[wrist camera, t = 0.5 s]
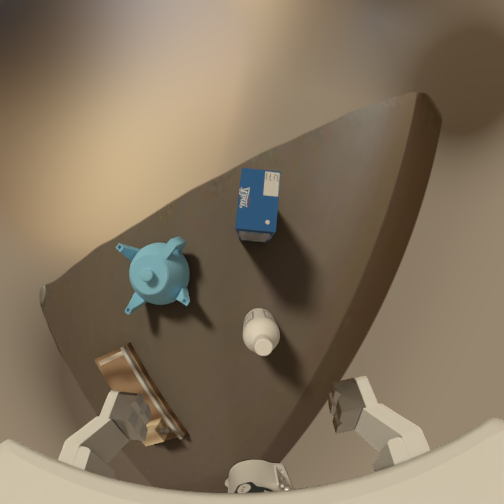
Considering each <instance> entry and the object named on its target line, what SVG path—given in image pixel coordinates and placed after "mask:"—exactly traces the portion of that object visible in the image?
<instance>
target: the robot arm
mask: <svg viewBox="0 0 504 504" xmlns="http://www.w3.org/2000/svg"><path fill="white" fill-rule="evenodd" d="M330 390H331V393H329V398H328V402H329V409H330V413H331V414H332V415H333V416H334V418H333V425H334V428H335V432H336V433H341V432H347V431H351V430H355V431H356V432H357V433H358V434H359V435H360V436H361V437H363V438H364V439H365V440H366V441H367V442H368V443H369V444H371V445H372V446H373V447H374V448H375V449H376V450H378V451H379V452H380V455H379V456H378V458H377V459H376V460H375V462H374V463H373V467H374V471H375V472H373V473H369V474H366V475H362V476H358V477H355V478H351V479H347V480H343V481H338V482H334V483H329V484H324V485H318V486H313V487H306V488H300V489H293V486H292V484H291V481H290V479H289V476H288V473H287V471H286V468H285V466H284V464H281V463H270V462H267V461H263V460H247V461H243V462H240V463H238V464H236V465H234V466H233V467H232V468H231V470H230V472H229V477H228V479H227V480H226V481H225V486H227V487H228V493H205V492H191V491H180V490H171V489H164V488H157V487H151V486H145V485H140V484H135V483H130V482H126V481H121V480H117V479H114V475H115V471H114V469H113V468H111V467H110V466H109V465H108V464H107V463H108V462H109V461H110V460H111V459H112V458H113V457H114V456H115V455H116V454H117V453H118V452H119V451H120V450H121V449H122V447H123V446H124V445H125V444H126V443H127V442H128V441H129V439H131V440H139V441H145V440H146V435H147V431H148V429H147V427H146V425H147V424H148V423H149V422H150V419H151V410H150V407H149V405H148V404H147V403H146V402H144V401H143V400H144V397H143V396H142V394H139V393H129V392H121V391H112V390H111V391H110V392H109V394H108V396H107V399H106V401H105V403H104V406H103V408H102V411H101V414H100V416H99V417H95V418H94V419H93V420H92V421H90V422H89V423H88V424H86V425H85V426H84V427H83V428H81V429H80V430H79V431H77V432H76V433H75V434H73V435H72V436H71V437H69V438H68V439H67V440H66V441H65V443H64V446H63V448H62V451H61V454H60V456H59V459H58V460H55V459H53V458H51V457H48V456H46V455H44V454H41V453H39V452H37V451H35V450H33V449H31V448H29V447H27V446H24V445H23V444H21V443H19V442H17V441H15V440H12V439H8V440H6V441H4V442H2V443H1V444H0V504H504V420H501V419H497V418H490V419H488V420H486V421H485V422H483V423H482V424H480V425H478V426H477V427H475V428H473V429H472V430H470V431H469V432H467V433H465V434H463V435H461V436H460V437H457V438H456V439H454V440H452V441H450V442H448V443H446V444H444V445H442V446H440V447H437V448H436V449H433V450H431V451H430V448H429V446H428V444H427V442H426V439H425V437H424V435H423V432H422V430H421V428H420V427H418V426H416V425H415V424H413V423H412V422H410V421H408V420H407V419H405V418H403V417H402V416H400V415H399V414H397V413H396V412H394V411H393V410H391V409H389V408H388V407H386V406H385V405H383V404H382V403H381V404H378V402H377V399H376V397H375V395H374V392H373V390H372V388H371V385H370V383H369V381H368V378H367V377H366V376H361V377H357V378H351V379H347V380H342V381H337V382H332V383H331V385H330ZM281 469H282V470H281Z"/></svg>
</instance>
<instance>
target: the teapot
mask: <svg viewBox="0 0 504 504" xmlns="http://www.w3.org/2000/svg"><path fill="white" fill-rule="evenodd" d="M185 244H186V241H185V240H184V239H183V238H182V237H181V236H179V237H176V238H173V239H170V240H169V242H168V243H167V244H166V243H153V244H150V245H147V246H145V247H144V248H142V249H138V248H135V247H131V246H128V245H124V244H120V243H119V244H118V245H117V247H116V248H117V249H118V250H119V251H120V252H121V253H122V254H123V255H124V256H126V257H127V258H128V259H129V260H130V261H131V265H130V270H129V277H130V282H131V285H132V287H133V289H134V291H135V293H134V295H133V297H132V299H131V301H130V303H129V305H128V306H127V308H126V310H125V312H126V313H127V314H128V315H129V314H131V313H132V312H134V311H135V310H137V309H138V308H140V307H141V306H142V305H144V304H145V303H147V302H149V303H152V304H156V305H165V304H169V303H172V302H174V301H176V300H178V301H179V302H181V303H183V304H184V305H186V306H187V305H188V304H189V302H190V298H189V292H188V289H187V286H188V283H189V277H190V272H189V266H188V263H187V260H186V258H185V257H184V255H183V254H182V253H181V251H182V249H183V247H184V245H185Z"/></svg>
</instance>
